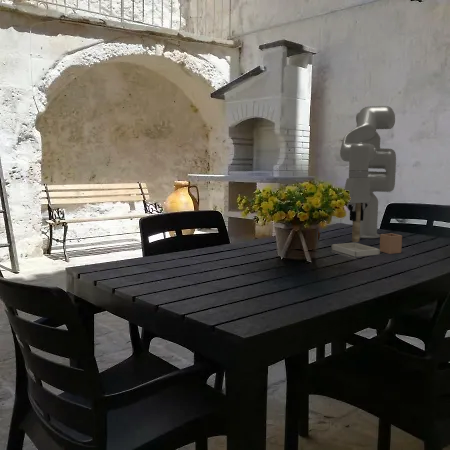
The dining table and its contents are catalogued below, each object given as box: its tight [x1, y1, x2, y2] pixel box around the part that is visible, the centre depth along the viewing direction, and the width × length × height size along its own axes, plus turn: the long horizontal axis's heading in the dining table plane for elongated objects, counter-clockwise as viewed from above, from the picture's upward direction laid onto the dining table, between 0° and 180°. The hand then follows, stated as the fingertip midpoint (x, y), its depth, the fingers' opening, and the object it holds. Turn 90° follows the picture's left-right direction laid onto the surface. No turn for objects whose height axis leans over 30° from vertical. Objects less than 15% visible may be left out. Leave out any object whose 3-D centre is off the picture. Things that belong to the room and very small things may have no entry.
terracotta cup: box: [379, 233, 403, 255], centre depth 211 cm, size 6×6×8 cm
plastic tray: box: [331, 242, 381, 260], centre depth 211 cm, size 16×12×3 cm
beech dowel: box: [351, 203, 361, 243], centre depth 209 cm, size 3×3×16 cm
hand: (356, 220), depth 209 cm, fingers closed on beech dowel, 3 cm apart
